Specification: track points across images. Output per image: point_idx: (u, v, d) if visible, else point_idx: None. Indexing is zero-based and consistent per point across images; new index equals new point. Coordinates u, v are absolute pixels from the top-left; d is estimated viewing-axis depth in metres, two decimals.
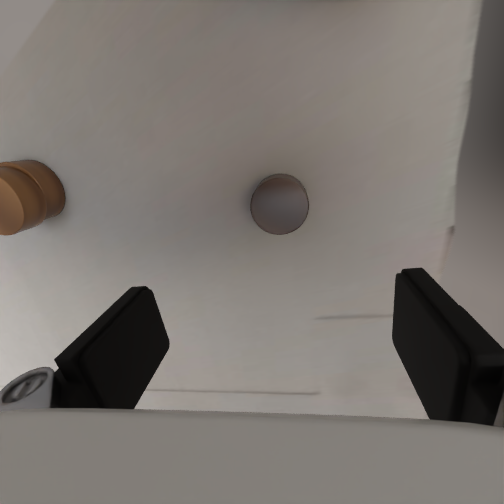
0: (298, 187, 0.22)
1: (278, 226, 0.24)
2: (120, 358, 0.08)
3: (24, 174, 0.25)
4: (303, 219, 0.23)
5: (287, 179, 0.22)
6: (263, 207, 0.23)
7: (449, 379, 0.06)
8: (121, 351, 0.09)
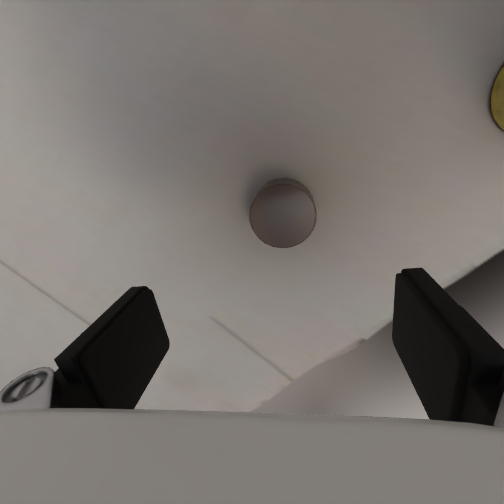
0: (313, 218, 0.20)
1: (264, 230, 0.21)
2: (120, 358, 0.08)
3: None
4: (289, 245, 0.21)
5: (313, 204, 0.19)
6: (271, 204, 0.20)
7: (449, 379, 0.06)
8: (121, 351, 0.09)
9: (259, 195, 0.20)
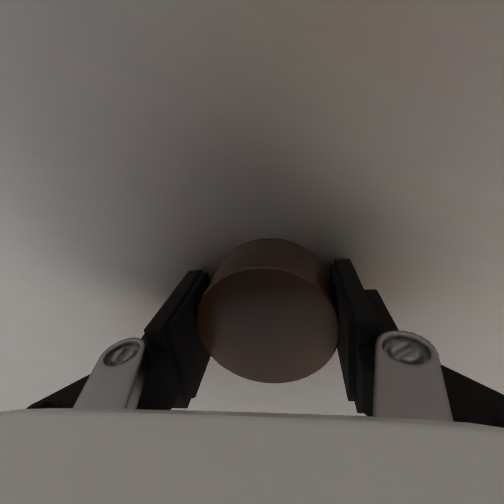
0: (335, 337, 0.09)
1: (228, 351, 0.10)
2: (191, 333, 0.09)
3: None
4: (281, 380, 0.10)
5: (334, 309, 0.09)
6: (240, 305, 0.09)
7: (346, 346, 0.07)
8: (191, 327, 0.09)
9: (214, 287, 0.09)
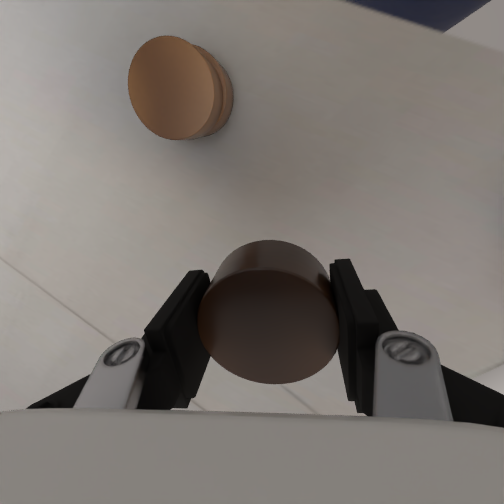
0: (335, 339, 0.09)
1: (229, 352, 0.10)
2: (191, 333, 0.09)
3: (222, 95, 0.19)
4: (281, 381, 0.10)
5: (334, 310, 0.09)
6: (240, 306, 0.09)
7: (346, 346, 0.07)
8: (191, 327, 0.09)
9: (214, 288, 0.09)
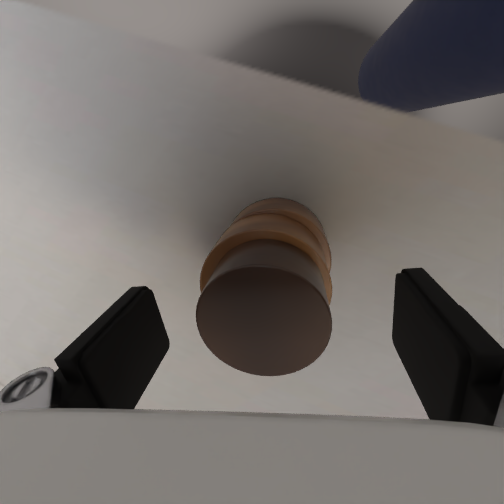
0: (326, 331, 0.09)
1: (226, 345, 0.10)
2: (120, 358, 0.08)
3: None
4: (276, 373, 0.11)
5: (325, 305, 0.09)
6: (237, 301, 0.09)
7: (449, 379, 0.06)
8: (121, 351, 0.09)
9: (212, 284, 0.09)
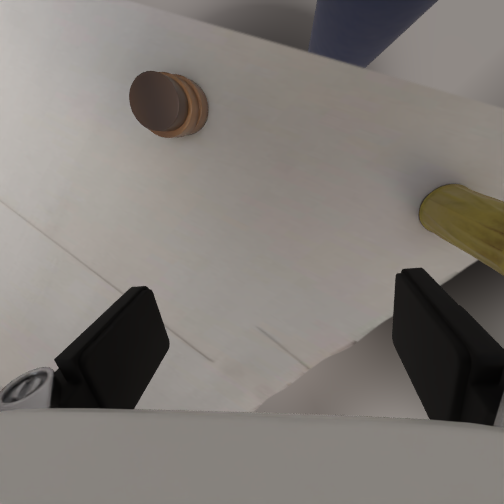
0: (177, 101, 0.25)
1: (142, 115, 0.26)
2: (120, 358, 0.08)
3: (198, 107, 0.29)
4: (163, 128, 0.26)
5: (174, 88, 0.25)
6: (143, 90, 0.25)
7: (449, 379, 0.06)
8: (121, 351, 0.09)
9: (133, 82, 0.25)
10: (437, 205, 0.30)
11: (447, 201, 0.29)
